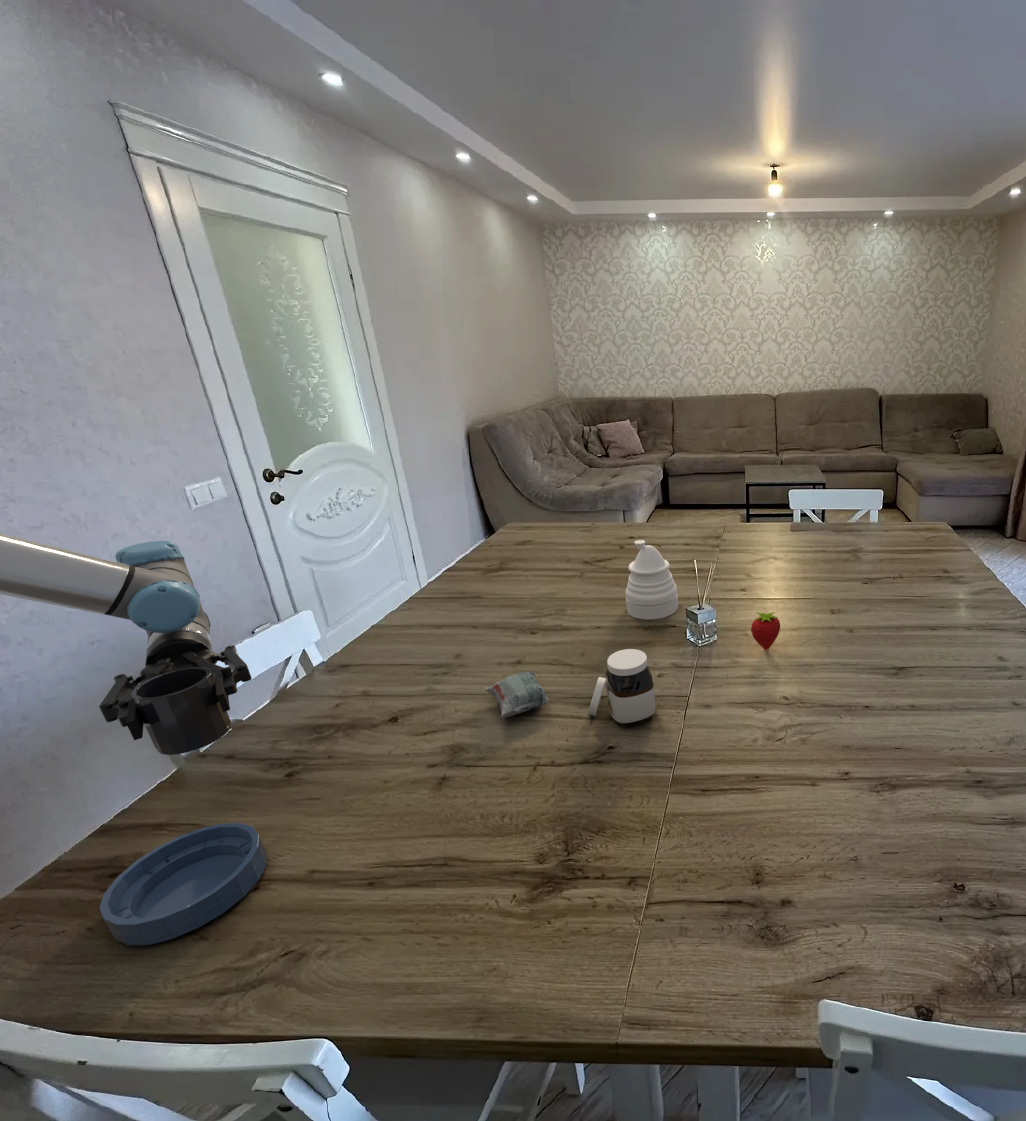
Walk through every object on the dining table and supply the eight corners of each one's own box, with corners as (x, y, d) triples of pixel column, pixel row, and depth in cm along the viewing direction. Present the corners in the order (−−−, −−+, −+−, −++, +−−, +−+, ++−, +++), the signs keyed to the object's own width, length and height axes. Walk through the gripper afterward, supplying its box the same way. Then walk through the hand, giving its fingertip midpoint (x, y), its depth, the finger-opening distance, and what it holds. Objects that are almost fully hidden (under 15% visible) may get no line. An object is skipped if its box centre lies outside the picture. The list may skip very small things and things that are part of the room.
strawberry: (745, 653, 126) (744, 611, 122) (762, 638, 132) (762, 598, 128) (768, 660, 123) (768, 618, 119) (785, 645, 129) (786, 604, 125)
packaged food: (502, 729, 102) (498, 705, 101) (487, 697, 111) (482, 675, 110) (552, 712, 107) (549, 689, 105) (533, 682, 116) (529, 661, 114)
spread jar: (662, 722, 104) (657, 666, 99) (599, 742, 99) (591, 684, 95) (640, 689, 114) (635, 636, 109) (582, 705, 109) (574, 651, 104)
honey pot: (633, 623, 139) (627, 553, 133) (621, 602, 150) (615, 536, 144) (684, 613, 144) (681, 545, 137) (669, 593, 155) (665, 529, 148)
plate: (76, 949, 66) (61, 924, 65) (190, 845, 80) (179, 823, 78) (202, 948, 66) (190, 924, 65) (294, 844, 80) (286, 822, 78)
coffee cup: (140, 755, 79) (113, 699, 76) (192, 719, 87) (169, 666, 83) (199, 754, 79) (175, 699, 76) (246, 718, 87) (225, 666, 83)
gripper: (269, 650, 101) (285, 707, 85) (95, 698, 88) (77, 776, 72) (255, 611, 98) (270, 663, 83) (74, 655, 85) (51, 726, 70)
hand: (180, 716), depth 77 cm, fingers closed on coffee cup, 8 cm apart
